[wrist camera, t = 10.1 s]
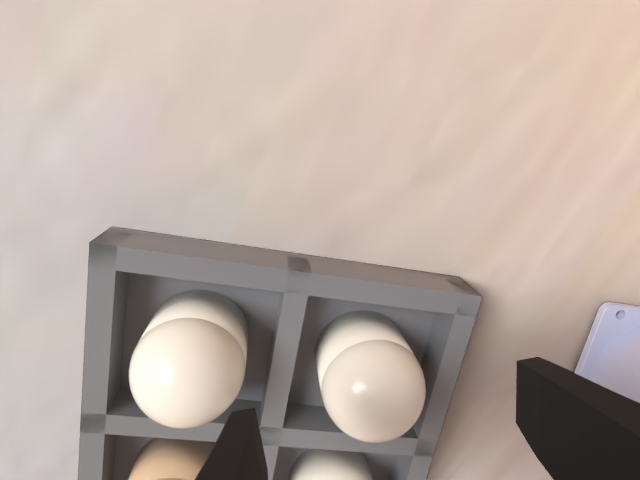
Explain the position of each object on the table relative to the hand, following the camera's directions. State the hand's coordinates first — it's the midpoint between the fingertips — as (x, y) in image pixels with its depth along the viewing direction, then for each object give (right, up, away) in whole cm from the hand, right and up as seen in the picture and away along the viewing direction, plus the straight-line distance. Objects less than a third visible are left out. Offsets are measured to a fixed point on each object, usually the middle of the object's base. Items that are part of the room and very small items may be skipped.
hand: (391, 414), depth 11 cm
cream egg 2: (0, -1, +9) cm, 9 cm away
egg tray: (-5, -4, +10) cm, 12 cm away
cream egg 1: (-7, 0, +8) cm, 11 cm away
